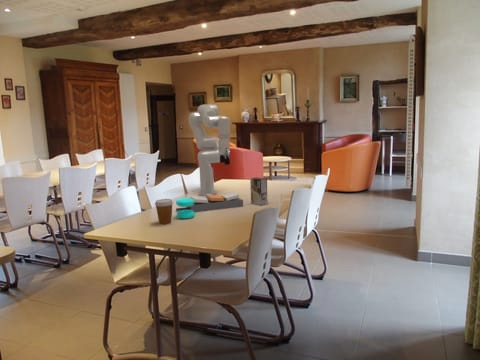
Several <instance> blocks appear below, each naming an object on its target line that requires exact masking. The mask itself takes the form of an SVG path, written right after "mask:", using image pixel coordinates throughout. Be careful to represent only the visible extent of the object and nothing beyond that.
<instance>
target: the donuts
mask: <svg viewBox="0 0 480 360" xmlns="http://www.w3.org/2000/svg"><path fill="white" fill-rule="evenodd" d="M175 204H176V205H177V206H178V207H179V208H184V207H188V206H191V205H193V204H194V200H193V199H191V197H190V198H188V197H184V198H179V199H176V202H175ZM195 214H196V212H194V211H192V210H181V211H177V213H176V217H177V218H179V219H183V220H184V219H186V220H188V219H191V218H194V217H195Z"/></svg>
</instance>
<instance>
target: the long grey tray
mask: <svg viewBox="0 0 480 360" xmlns="http://www.w3.org/2000/svg"><path fill="white" fill-rule="evenodd" d="M206 199H207V198H206ZM207 200H208V203H198V202H194V204H193V205H191V206H188V207H176V209H175V211H176V212H179V211H181V210H192V211H194V213H199V212H207V211H215V210H223V209H233V208H238V207H239V208H240V207H244V200H243V199H242V198H240V197H239V198H235V199H232V200H228V201H226V200H224V201H210V200H209V199H207Z"/></svg>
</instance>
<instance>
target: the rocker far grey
mask: <svg viewBox="0 0 480 360" xmlns="http://www.w3.org/2000/svg"><path fill="white" fill-rule="evenodd" d="M220 196H221V197H223V198H224V200H226V201H228V200H232V199H235V198H240V195H239V193H236V192H234V191H231V192H227V193H224V194H221V195H220Z"/></svg>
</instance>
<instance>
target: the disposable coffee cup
mask: <svg viewBox="0 0 480 360" xmlns="http://www.w3.org/2000/svg"><path fill="white" fill-rule="evenodd" d="M173 204H174V201H173V200H172V199H169V198H162V199H157V200H155V202H154V205H155V208H156V213H157V218H158V224H159V223H160V224H159V225H169V224H172V216H173V215H172V214H173V213H172V212H173Z"/></svg>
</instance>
